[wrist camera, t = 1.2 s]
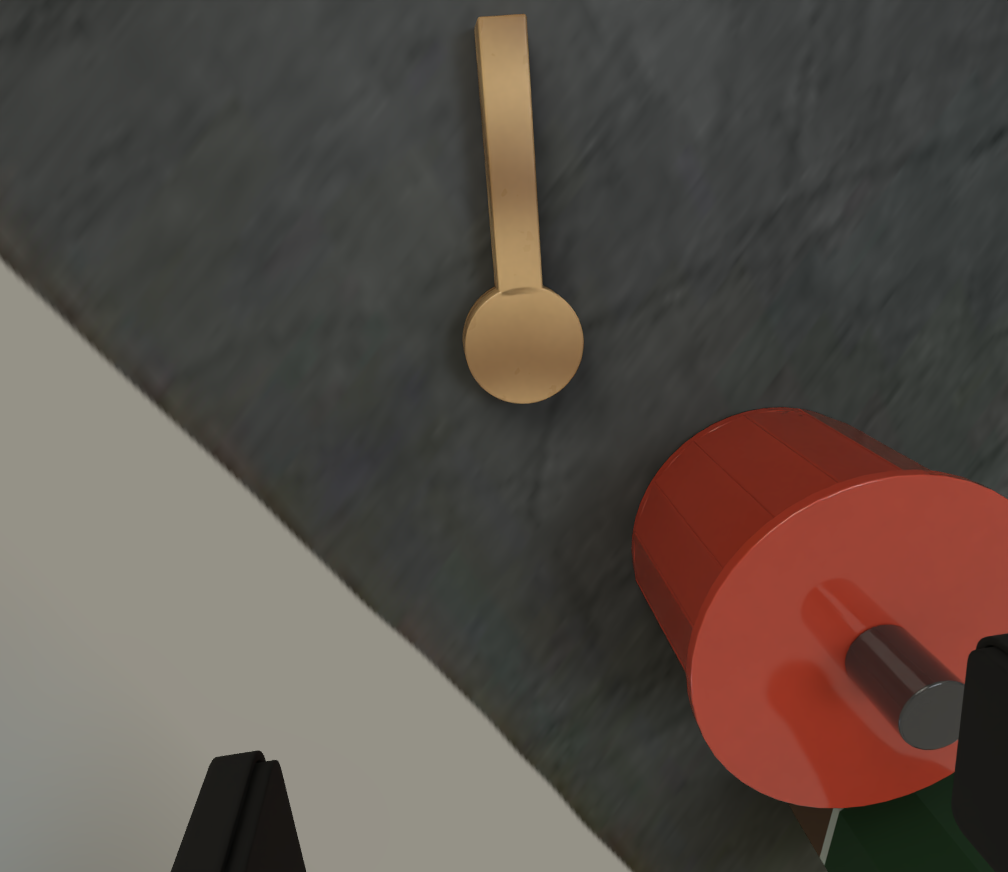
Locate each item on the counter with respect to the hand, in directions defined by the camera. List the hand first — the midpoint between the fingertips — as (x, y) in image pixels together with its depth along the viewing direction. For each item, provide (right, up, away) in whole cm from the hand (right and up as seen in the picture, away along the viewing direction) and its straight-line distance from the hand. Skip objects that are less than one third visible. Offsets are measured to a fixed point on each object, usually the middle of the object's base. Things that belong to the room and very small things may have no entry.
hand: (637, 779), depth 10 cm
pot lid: (+10, -2, +15) cm, 18 cm away
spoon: (-1, +11, +18) cm, 21 cm away
